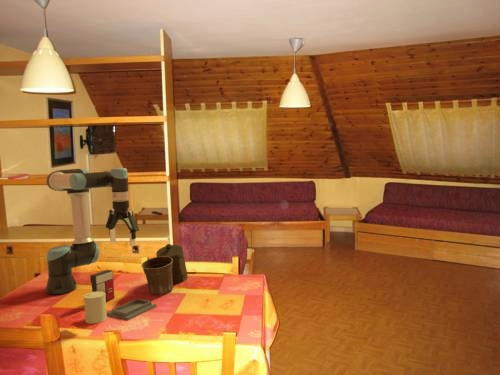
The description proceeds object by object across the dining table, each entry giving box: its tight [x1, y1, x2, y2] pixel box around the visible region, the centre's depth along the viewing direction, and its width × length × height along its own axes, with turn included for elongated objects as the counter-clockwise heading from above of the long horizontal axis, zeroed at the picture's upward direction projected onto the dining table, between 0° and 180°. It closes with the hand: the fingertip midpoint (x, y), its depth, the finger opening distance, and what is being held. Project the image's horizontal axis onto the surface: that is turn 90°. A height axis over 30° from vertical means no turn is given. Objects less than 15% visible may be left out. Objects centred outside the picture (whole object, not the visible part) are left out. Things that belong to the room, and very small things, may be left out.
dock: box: [106, 298, 157, 321], centre depth 196 cm, size 14×18×2 cm
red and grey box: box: [89, 269, 115, 303], centre depth 209 cm, size 11×4×15 cm, turn 149°
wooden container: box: [156, 243, 189, 285], centre depth 233 cm, size 15×15×22 cm
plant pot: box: [141, 256, 174, 296], centre depth 219 cm, size 16×16×16 cm
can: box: [83, 291, 108, 325], centre depth 186 cm, size 9×9×12 cm
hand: (122, 244), depth 200 cm, fingers open, 13 cm apart
